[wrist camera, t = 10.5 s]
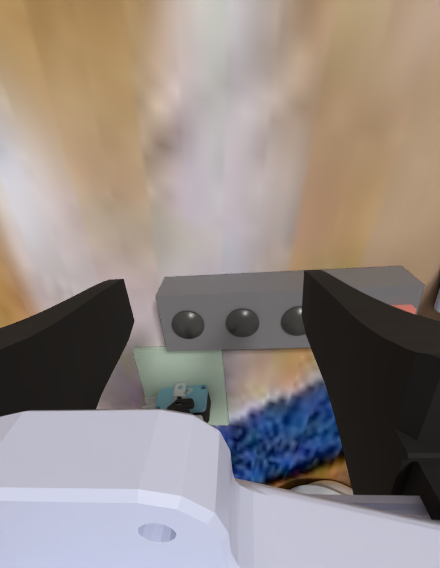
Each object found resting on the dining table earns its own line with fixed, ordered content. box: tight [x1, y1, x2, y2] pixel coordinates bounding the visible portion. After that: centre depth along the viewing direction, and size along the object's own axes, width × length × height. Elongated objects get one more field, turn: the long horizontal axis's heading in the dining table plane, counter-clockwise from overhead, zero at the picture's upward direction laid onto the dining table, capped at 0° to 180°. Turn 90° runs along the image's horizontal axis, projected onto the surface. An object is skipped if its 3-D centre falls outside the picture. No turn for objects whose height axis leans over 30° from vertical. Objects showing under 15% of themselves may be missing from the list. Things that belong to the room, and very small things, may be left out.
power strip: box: [156, 266, 425, 351], centre depth 22 cm, size 18×5×4 cm, turn 94°
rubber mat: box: [133, 347, 229, 425], centre depth 28 cm, size 8×10×1 cm
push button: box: [141, 382, 211, 423], centre depth 24 cm, size 7×5×10 cm
